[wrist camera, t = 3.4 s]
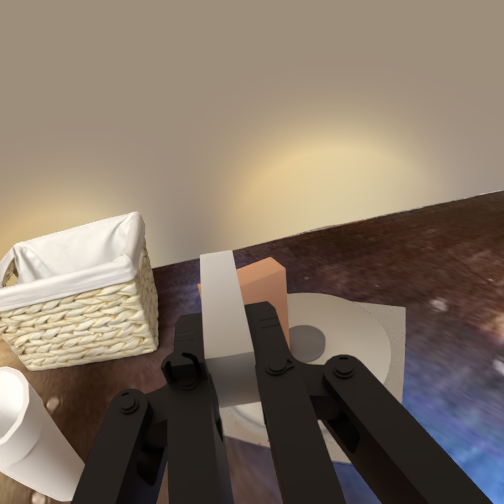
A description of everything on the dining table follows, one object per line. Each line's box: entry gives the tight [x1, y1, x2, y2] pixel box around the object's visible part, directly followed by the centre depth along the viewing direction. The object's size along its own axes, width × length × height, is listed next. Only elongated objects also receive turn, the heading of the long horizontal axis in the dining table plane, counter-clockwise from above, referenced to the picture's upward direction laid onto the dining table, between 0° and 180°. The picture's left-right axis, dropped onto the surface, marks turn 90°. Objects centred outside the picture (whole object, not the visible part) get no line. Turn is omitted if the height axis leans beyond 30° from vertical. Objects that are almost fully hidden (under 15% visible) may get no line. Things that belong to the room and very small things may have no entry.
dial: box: [198, 257, 391, 430], centre depth 32 cm, size 20×20×14 cm
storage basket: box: [0, 212, 158, 371], centre depth 41 cm, size 24×16×15 cm
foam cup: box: [0, 366, 85, 501], centre depth 20 cm, size 10×9×13 cm
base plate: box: [219, 301, 405, 465], centre depth 36 cm, size 24×24×1 cm
